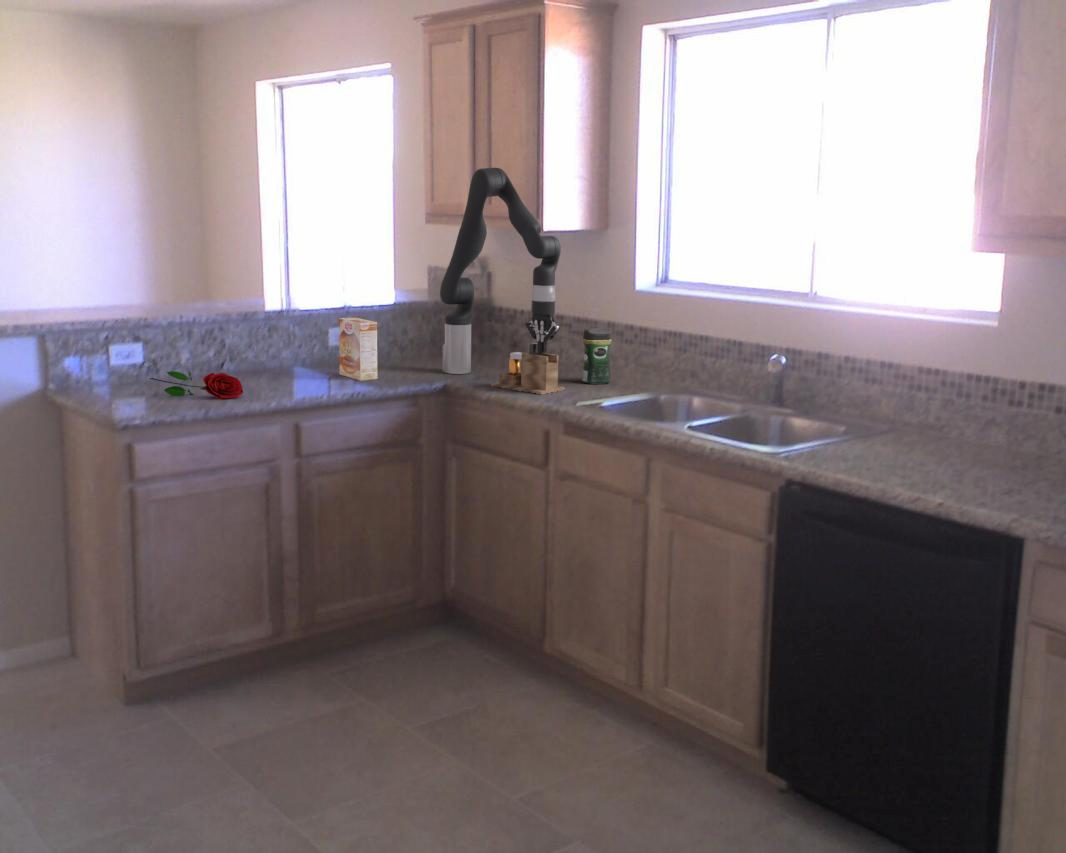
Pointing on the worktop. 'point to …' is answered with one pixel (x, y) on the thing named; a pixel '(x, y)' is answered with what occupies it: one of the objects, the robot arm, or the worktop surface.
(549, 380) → the mount
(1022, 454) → the worktop surface
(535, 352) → the grey angular block
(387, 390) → the worktop surface
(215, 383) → the flower
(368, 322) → the coffeecake box
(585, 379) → the coffee jar
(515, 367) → the peg
